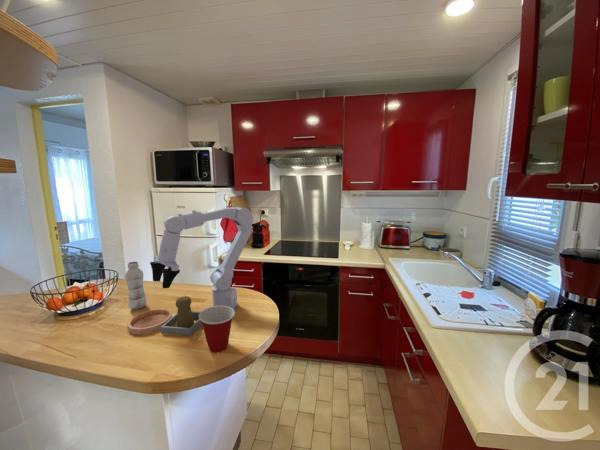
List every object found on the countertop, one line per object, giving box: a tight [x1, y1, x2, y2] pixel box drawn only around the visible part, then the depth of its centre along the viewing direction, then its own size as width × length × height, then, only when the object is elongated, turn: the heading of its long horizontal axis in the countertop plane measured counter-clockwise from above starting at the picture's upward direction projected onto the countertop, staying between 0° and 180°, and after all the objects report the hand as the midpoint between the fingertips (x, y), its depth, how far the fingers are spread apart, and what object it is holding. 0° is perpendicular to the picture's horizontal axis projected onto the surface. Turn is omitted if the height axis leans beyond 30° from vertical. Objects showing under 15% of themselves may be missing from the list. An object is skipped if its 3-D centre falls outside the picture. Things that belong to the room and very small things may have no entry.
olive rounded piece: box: [175, 295, 195, 328], centre depth 88 cm, size 6×6×11 cm
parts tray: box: [160, 310, 202, 337], centre depth 89 cm, size 11×11×2 cm
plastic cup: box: [199, 306, 236, 354], centre depth 76 cm, size 11×11×12 cm
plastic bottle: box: [124, 261, 148, 311], centre depth 100 cm, size 6×7×20 cm
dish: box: [127, 308, 173, 336], centre depth 90 cm, size 14×14×2 cm
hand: (160, 284), depth 87 cm, fingers open, 7 cm apart
